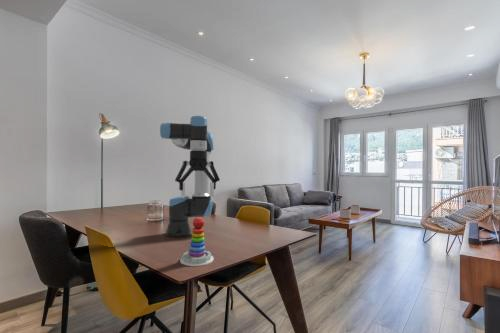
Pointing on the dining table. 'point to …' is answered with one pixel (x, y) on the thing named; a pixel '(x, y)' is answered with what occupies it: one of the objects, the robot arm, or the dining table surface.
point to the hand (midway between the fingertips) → (197, 197)
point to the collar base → (196, 259)
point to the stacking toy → (197, 240)
